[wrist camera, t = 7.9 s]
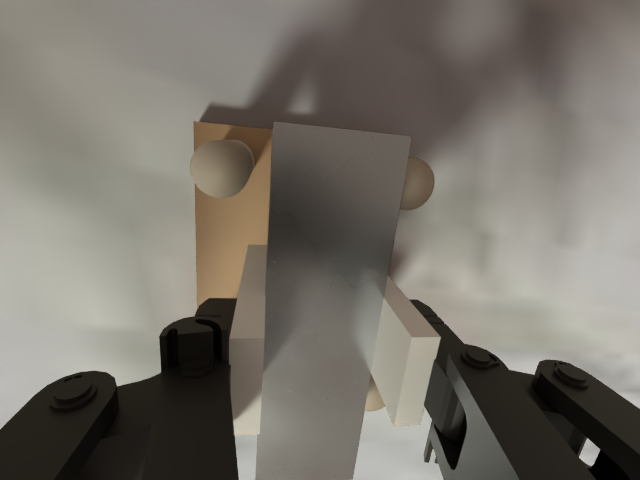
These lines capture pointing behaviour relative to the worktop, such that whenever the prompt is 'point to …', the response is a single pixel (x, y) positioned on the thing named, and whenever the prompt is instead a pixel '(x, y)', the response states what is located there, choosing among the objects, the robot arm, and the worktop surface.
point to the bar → (324, 293)
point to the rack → (251, 206)
